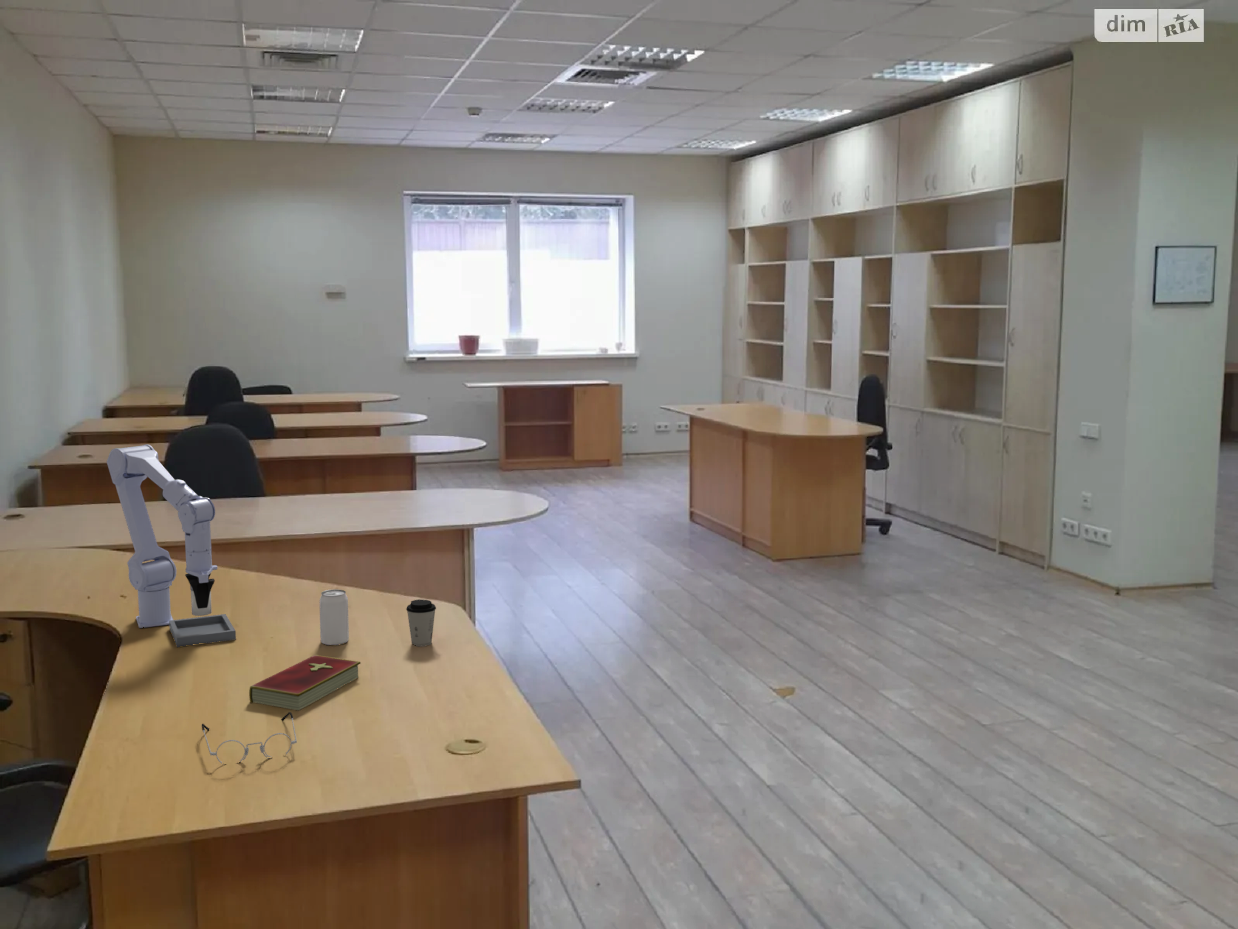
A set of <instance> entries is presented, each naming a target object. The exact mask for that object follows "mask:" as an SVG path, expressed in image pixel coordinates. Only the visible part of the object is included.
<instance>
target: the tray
mask: <svg viewBox="0 0 1238 929" xmlns="http://www.w3.org/2000/svg"><path fill="white" fill-rule="evenodd" d="M168 626H169V632H170V634H171V633H172V634H171V637H172V638H174V639H173V641H174V640H175V641H174V643H176V644H175V646H176V648H181V647H180V646H183V647H187V646H186V645H191V646H194V645H193V644H199V643H206V644H212V642H214V643H218V642H219V641H220V642H219V643H221V641H222V642H229V641H236V639H237V634H236V629H235V627H234V626H233V625H232V622H231V621H230V619H229V617H228V616H227V614H226V613H223V614H222V613H221V614H214V615H203V616H197V617H196V616H195V617H188V618H181V619H180V618H179V619H173V620H171V621H169V625H168ZM199 645H200V644H199Z"/></svg>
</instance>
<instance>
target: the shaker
mask: <svg viewBox="0 0 1238 929" xmlns="http://www.w3.org/2000/svg"><path fill="white" fill-rule="evenodd" d="M189 589H190V599H191V600H190V602H191V614H192V615H193V616H195V617H196V616H197V617H204V616H209V615H210V614H212V612H213V611H212V590H211V591H210V596H209V602H208V607H207V608H200V609H198V607H197V604H196V600H195V595H194V591H193V589H192V587H191V585H190V584H189Z"/></svg>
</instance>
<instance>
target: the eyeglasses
mask: <svg viewBox="0 0 1238 929" xmlns="http://www.w3.org/2000/svg"><path fill="white" fill-rule="evenodd" d="M289 716H290V719H291V721H292V729H293V734H294V740H291V737H290V736H289V735H288V734H286V733H284V732H283V733H282V732H277V733H274V734H272V735H270V736H269V737H268V738H267V739H266V740H265V742H264V744H263V742H262V741H260V742H253V743H247V744H246V747H245V746H244V744H243V743H242V741H241V742H240V741H238V740H235V739H228V740H225V741H223V742H221V743H220V744H219V745H218V747H217V748H216V751H214V752H213V751H212V750H211V748H210V745H209V741H208V738H207V735H206V732H205V731H207V732H209V731H210V730H209V729H210V727H208V726H206V725H205V723H202V724H201V730H202V733H203V734H204V735H203V736H204V738H205V742H206V745H207V748H208V751H209V754H210V756H215V757H216V759H217V761H218V762H219V763H220V764H222V762H223V761H221V760H220V758H219V757H218V750H219V748H220V747H221V746H222V745H223V744H225V743H227V742H235V743H239V744H241V746H242V747H243V749H244V754H243V756H242V758H241V759H240V760H241V761H242V760H244V761H245V759H246V758H247V756H248V754H249V747H248V746H252V745H257V744H259V750H260V753H261V754H263V755H264V756H263V757H265V758H267V757H271V756H270V755H268V754H267V752H266V750H265V749H266V748H265V747H266V743H267V742H268V741H269V740H270V739H271V738H272V737H274V736H277V735H283V736H286V737H287V738H288V739H289V741H290V747H289V748H288V750H287V751H286V752H285V753H286V755H288V753H290V751H291V748H292V745H295V744H297V742H298V740H297V734H296V729H295V724H294V716H293V713H292V712H291V711H288V712H287V713H286V714H285V715H284V716H283V717H281V719H280V720H281V721H282V722H284V721H285V720H286V719H287V717H289ZM208 730H209V731H208ZM260 744H261V745H260Z"/></svg>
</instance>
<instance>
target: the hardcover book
mask: <svg viewBox="0 0 1238 929" xmlns="http://www.w3.org/2000/svg"><path fill="white" fill-rule="evenodd" d="M359 665H361V661H358V660H351V659H345V658H344V659H343V658H339V657H332V656H326V655H319V654H314V655H313V656H310V657H308V658H306V659H303V660H302V661H299V662H297V663H295V664H294V665H291V666H289V667H288V668H285V669H282V670H281V671H280V672H277V673H275V674H273V675H270V676H269V677H267V678H265V679H263V680H261V681H259V682H257V683H254V684H253V685H250V686H249V689H248V690H249V692H248V693H249V695H248V697H249V702H250V704H251V703H255V704H260V705H261V704H262V705H266V706H273V707H277V708H282V709H283V708H284V709H289V710H294V711H298V712H299V711H301V710H302V709H304V708H305V707H308V706H310V705H311V704H313V703H315V702H317V701H319V700H321V699H323V698H324V697H326V696H327V695H330V694H331V693H333V692H335V691H337V690H338V689H337V688H339V689H340V688H342V687H344V686H345V685H344V684H346V685H347V683H348V684H349V683H351V682H353V681H355V680H356V678H357V679H358V678H359ZM354 679H355V680H354ZM350 681H351V682H350ZM343 685H344V686H343ZM341 686H342V687H341ZM336 689H337V690H336ZM332 691H333V692H332Z"/></svg>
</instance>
